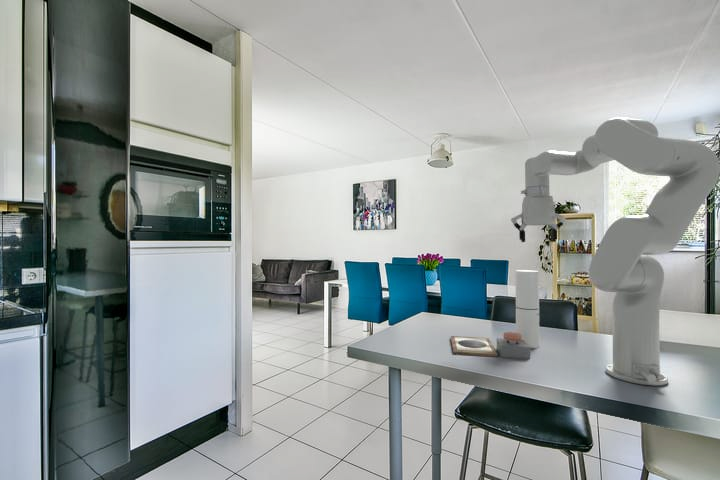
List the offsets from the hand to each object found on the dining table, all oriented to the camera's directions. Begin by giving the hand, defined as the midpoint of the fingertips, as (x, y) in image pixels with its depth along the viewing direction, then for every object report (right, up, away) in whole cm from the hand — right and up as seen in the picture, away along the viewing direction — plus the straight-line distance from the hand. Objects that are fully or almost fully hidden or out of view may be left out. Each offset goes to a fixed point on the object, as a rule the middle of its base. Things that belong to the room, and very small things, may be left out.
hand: (538, 241), depth 121 cm
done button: (-15, -32, -13) cm, 38 cm away
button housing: (-15, -35, -13) cm, 40 cm away
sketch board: (-25, -35, -6) cm, 43 cm away
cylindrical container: (-6, -35, -4) cm, 36 cm away
